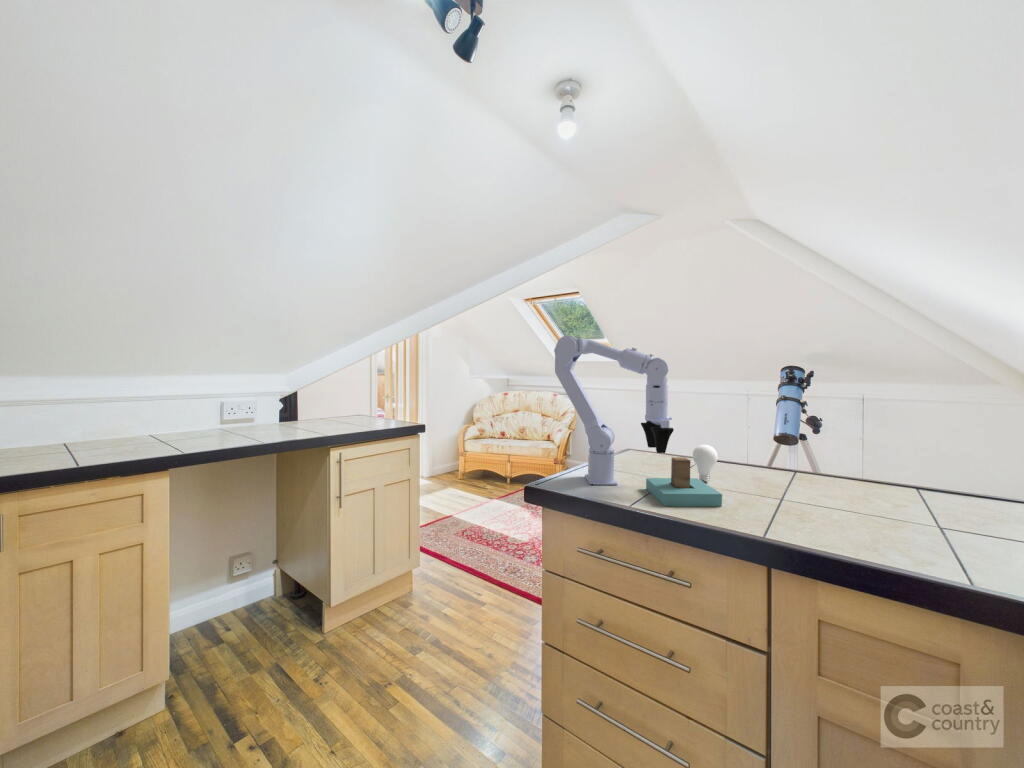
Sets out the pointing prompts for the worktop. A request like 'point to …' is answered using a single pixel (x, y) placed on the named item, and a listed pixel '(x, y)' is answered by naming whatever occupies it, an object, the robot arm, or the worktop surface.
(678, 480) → the peg
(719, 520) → the worktop surface
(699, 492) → the socket block
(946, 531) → the worktop surface
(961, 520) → the worktop surface
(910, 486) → the worktop surface
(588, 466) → the robot arm
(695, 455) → the light bulb
